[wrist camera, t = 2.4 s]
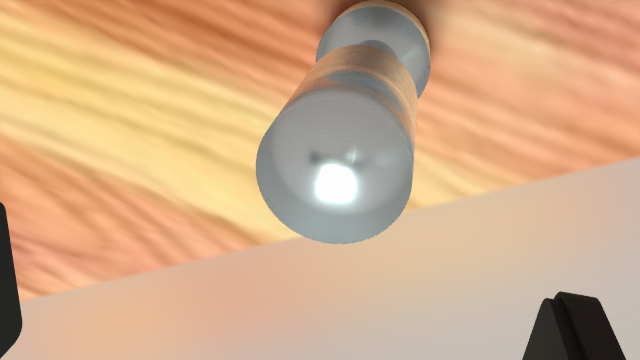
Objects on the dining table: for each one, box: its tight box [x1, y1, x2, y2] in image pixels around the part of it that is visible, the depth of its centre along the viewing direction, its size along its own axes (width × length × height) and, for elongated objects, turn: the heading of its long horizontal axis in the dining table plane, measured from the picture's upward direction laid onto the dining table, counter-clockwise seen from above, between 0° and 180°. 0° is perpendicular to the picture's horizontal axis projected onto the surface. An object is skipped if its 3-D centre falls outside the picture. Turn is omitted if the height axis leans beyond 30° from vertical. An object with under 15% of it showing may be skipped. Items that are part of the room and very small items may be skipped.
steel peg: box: [256, 0, 430, 244], centre depth 21 cm, size 5×5×13 cm
